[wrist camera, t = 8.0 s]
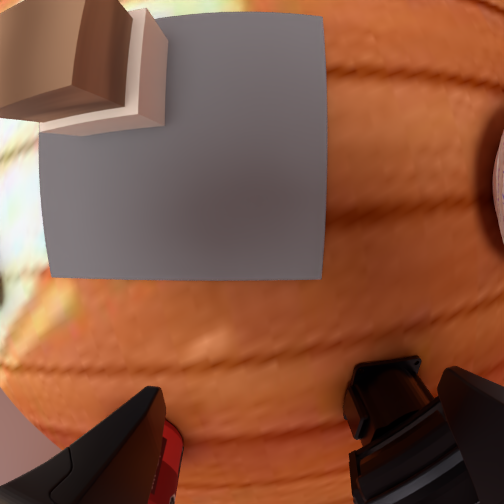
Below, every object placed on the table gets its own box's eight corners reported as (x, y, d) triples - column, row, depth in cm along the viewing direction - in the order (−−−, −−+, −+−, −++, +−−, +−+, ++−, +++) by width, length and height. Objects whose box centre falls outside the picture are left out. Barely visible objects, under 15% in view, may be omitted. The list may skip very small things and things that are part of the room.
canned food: (145, 460, 27) (125, 538, 16) (96, 415, 25) (58, 497, 14) (201, 448, 26) (190, 539, 15) (150, 398, 24) (117, 499, 13)
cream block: (168, 40, 16) (146, 7, 11) (164, 125, 17) (138, 114, 12) (87, 56, 15) (50, 34, 11) (81, 136, 17) (39, 132, 12)
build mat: (320, 20, 16) (322, 16, 15) (319, 276, 21) (321, 279, 20) (51, 49, 15) (47, 47, 15) (55, 274, 20) (51, 277, 20)
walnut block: (133, 18, 11) (93, -28, 6) (124, 106, 12) (71, 84, 7) (53, 40, 11) (0, 13, 6) (43, 122, 12) (-20, 116, 7)
